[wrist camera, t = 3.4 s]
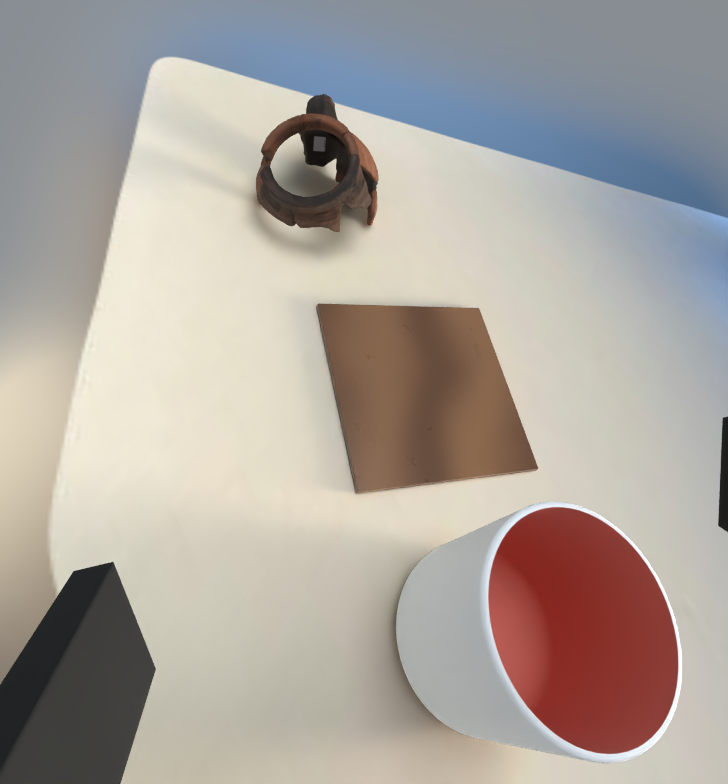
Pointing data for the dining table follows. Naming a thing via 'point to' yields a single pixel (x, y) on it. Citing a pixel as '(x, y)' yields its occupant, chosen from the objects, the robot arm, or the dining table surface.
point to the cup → (543, 636)
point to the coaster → (420, 396)
